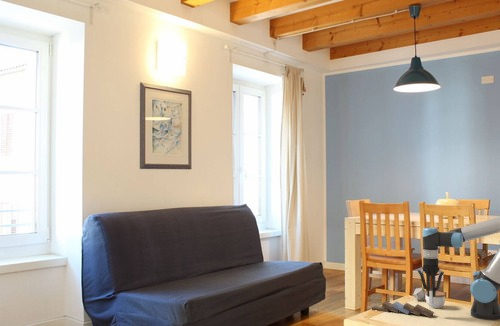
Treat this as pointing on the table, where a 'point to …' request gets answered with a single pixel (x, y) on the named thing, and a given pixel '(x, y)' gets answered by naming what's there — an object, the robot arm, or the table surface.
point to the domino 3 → (400, 307)
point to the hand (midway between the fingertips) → (431, 303)
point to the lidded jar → (436, 300)
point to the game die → (419, 294)
